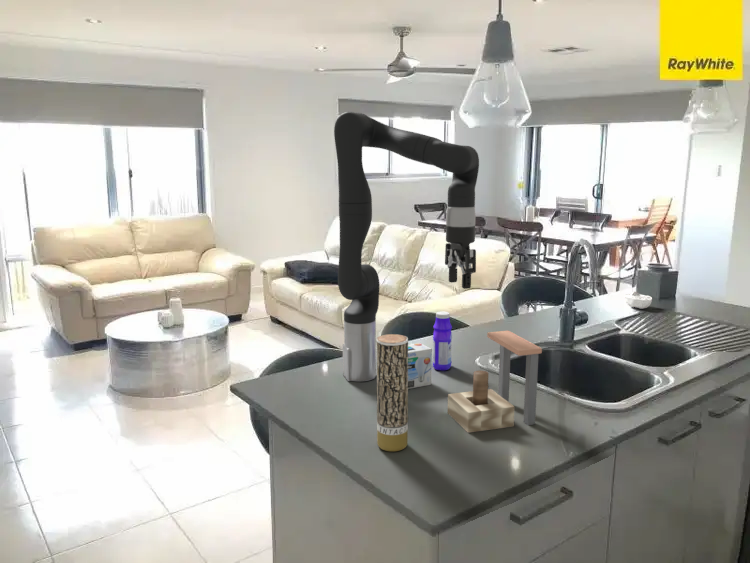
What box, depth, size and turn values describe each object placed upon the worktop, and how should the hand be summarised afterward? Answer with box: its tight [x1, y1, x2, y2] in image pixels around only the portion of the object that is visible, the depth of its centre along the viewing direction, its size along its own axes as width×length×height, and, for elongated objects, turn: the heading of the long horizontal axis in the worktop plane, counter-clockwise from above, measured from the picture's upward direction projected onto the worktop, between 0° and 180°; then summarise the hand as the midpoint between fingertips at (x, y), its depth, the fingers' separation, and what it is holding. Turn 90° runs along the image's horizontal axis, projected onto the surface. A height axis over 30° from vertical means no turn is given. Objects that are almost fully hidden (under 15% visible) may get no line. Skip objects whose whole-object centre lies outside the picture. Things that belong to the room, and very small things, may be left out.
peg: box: [472, 370, 490, 406], centre depth 150 cm, size 4×4×12 cm
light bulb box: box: [408, 342, 433, 390], centre depth 174 cm, size 11×7×11 cm, turn 117°
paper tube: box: [376, 333, 409, 453], centre depth 135 cm, size 7×7×25 cm
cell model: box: [624, 291, 653, 310], centre depth 261 cm, size 10×12×7 cm
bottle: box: [432, 310, 453, 371], centre depth 187 cm, size 7×6×17 cm
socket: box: [447, 388, 515, 433], centre depth 151 cm, size 12×12×5 cm
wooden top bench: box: [486, 330, 543, 426], centre depth 153 cm, size 6×16×19 cm, turn 17°
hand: (459, 285), depth 163 cm, fingers open, 8 cm apart
